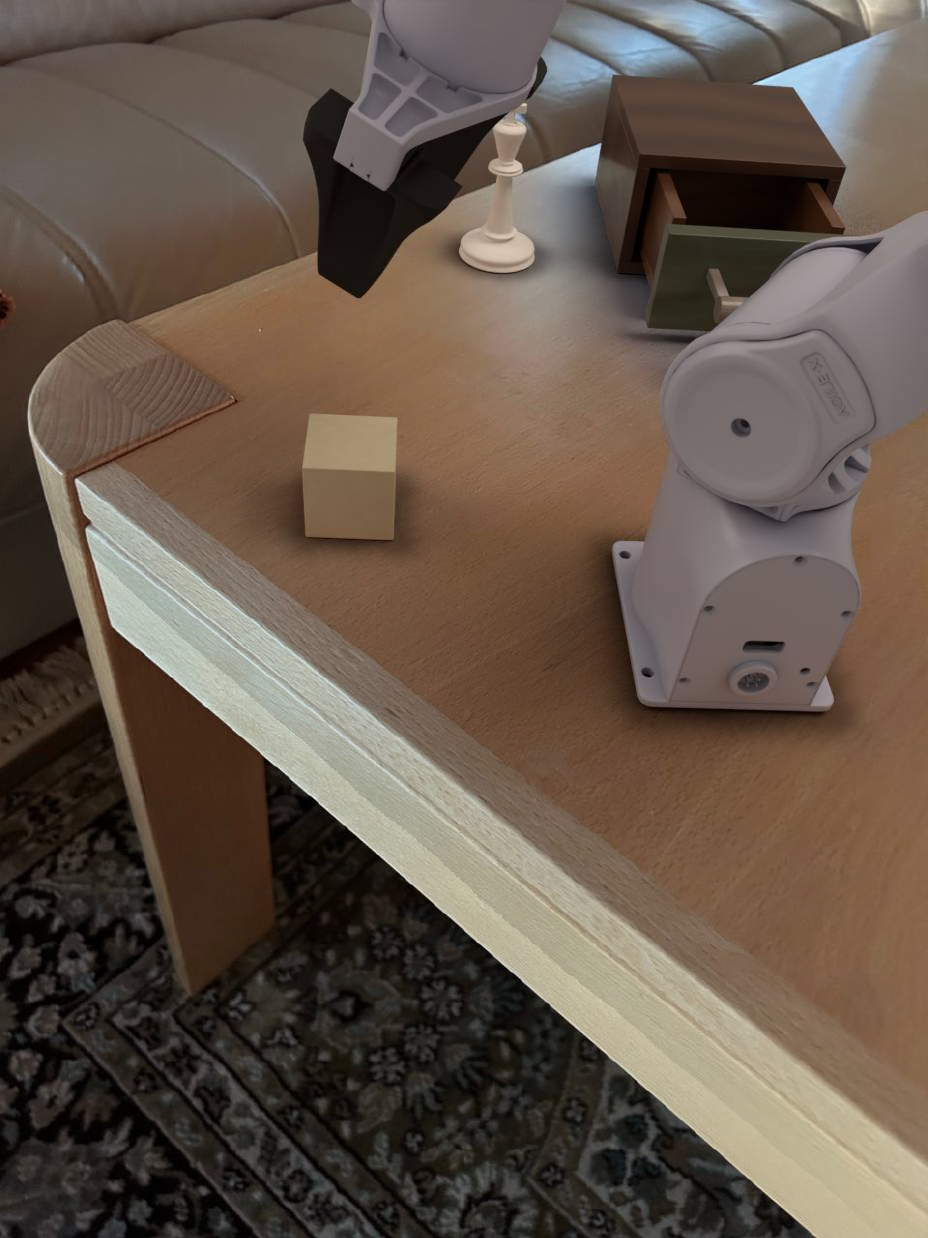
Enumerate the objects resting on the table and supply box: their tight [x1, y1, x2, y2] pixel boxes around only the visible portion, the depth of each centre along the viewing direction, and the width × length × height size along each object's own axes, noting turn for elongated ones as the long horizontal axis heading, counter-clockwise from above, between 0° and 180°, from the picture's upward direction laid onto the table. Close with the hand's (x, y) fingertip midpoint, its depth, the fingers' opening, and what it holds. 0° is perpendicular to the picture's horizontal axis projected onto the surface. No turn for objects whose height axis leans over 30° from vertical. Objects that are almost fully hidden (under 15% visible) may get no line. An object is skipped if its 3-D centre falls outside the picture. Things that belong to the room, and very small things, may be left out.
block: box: [301, 413, 399, 541], centre depth 47 cm, size 4×4×4 cm
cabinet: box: [594, 74, 847, 275], centre depth 68 cm, size 13×13×8 cm
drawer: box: [636, 168, 858, 332], centre depth 60 cm, size 17×11×6 cm
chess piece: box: [458, 102, 536, 274], centre depth 63 cm, size 5×5×10 cm
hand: (380, 234), depth 44 cm, fingers open, 7 cm apart
